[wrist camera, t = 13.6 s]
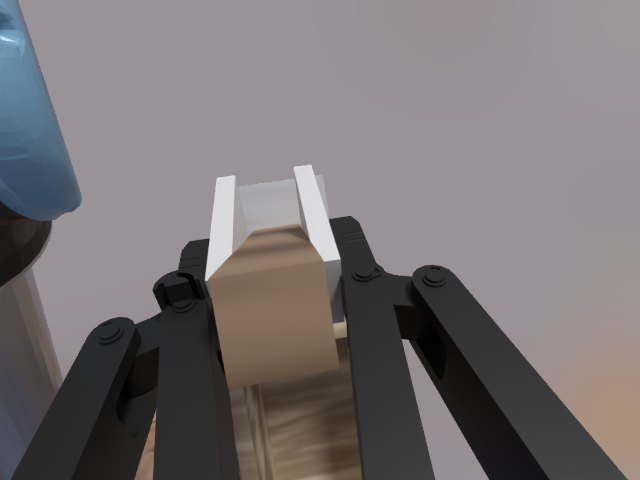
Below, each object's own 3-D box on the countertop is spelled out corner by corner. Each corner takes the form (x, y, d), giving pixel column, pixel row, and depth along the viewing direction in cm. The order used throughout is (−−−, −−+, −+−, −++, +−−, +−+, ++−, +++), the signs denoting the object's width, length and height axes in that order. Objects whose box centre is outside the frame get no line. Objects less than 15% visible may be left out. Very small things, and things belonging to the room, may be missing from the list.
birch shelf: (420, 625, 37) (378, 313, 34) (269, 660, 36) (211, 342, 33) (379, 498, 53) (347, 277, 50) (273, 520, 52) (234, 296, 49)
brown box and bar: (414, 354, 9) (386, 133, 9) (147, 404, 9) (99, 173, 8) (324, 249, 29) (314, 179, 28) (241, 262, 29) (229, 192, 28)
